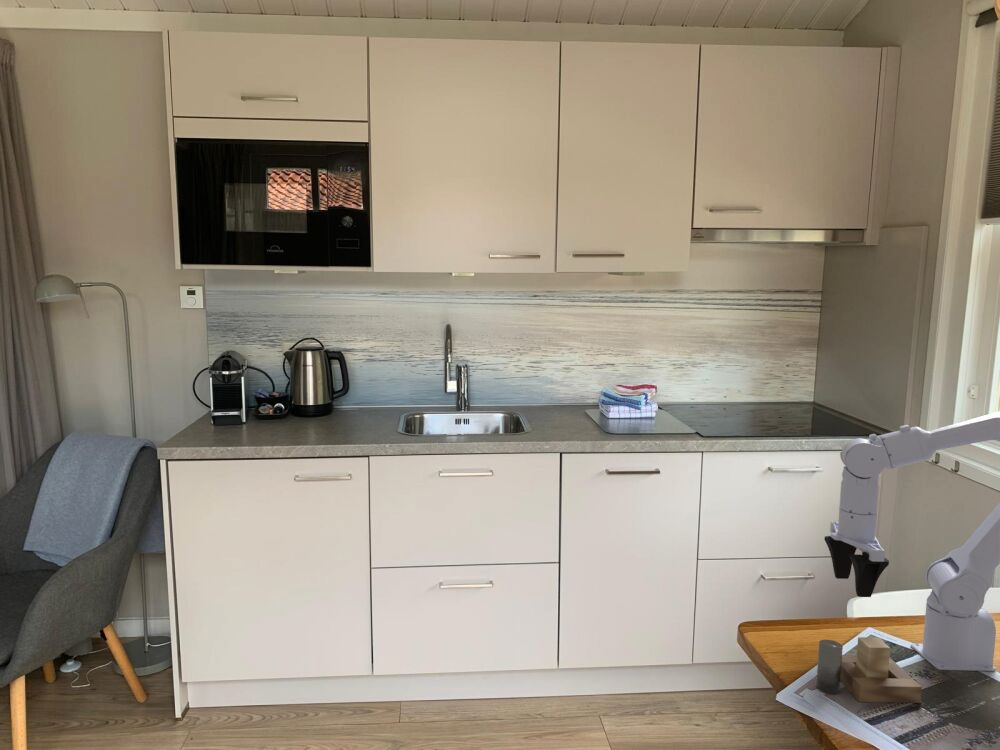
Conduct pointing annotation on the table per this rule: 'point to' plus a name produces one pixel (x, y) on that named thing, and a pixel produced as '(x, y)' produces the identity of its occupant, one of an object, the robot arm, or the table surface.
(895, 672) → the bore block
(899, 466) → the robot arm
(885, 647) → the square bit
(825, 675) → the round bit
